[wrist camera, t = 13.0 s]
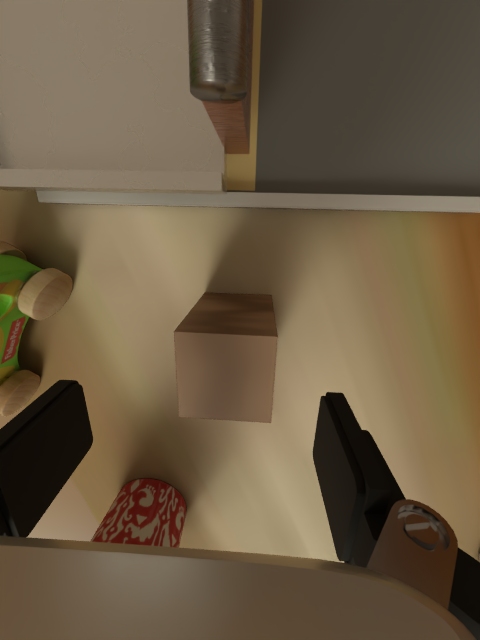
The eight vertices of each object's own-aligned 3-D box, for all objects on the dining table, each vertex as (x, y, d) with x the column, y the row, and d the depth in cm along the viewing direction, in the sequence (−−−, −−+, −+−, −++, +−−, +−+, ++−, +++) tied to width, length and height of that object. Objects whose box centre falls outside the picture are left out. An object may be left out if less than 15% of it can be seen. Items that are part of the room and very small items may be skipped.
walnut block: (271, 295, 21) (277, 336, 13) (267, 355, 22) (271, 423, 15) (204, 292, 21) (173, 331, 13) (206, 352, 23) (179, 416, 15)
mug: (95, 477, 28) (-41, 686, 15) (177, 463, 27) (102, 681, 14) (141, 557, 32) (64, 778, 19) (216, 549, 31) (184, 781, 18)
